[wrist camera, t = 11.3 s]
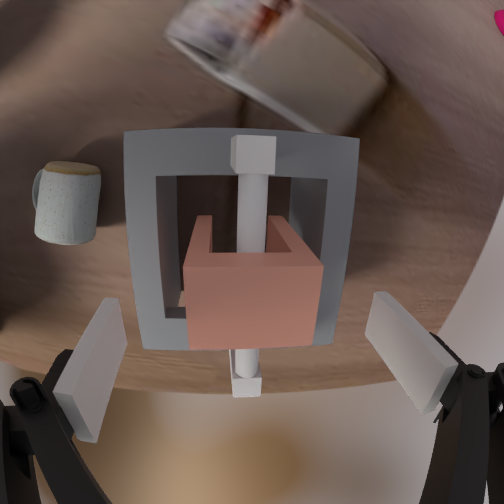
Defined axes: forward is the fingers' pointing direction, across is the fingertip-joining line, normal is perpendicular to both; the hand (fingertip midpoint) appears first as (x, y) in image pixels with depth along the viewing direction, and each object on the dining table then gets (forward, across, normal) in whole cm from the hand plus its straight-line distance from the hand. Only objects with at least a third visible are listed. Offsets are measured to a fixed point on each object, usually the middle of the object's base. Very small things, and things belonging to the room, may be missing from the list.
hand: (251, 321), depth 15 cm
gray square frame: (+22, 0, 0) cm, 22 cm away
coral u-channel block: (+12, 0, 0) cm, 12 cm away
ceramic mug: (+22, -20, +3) cm, 30 cm away
